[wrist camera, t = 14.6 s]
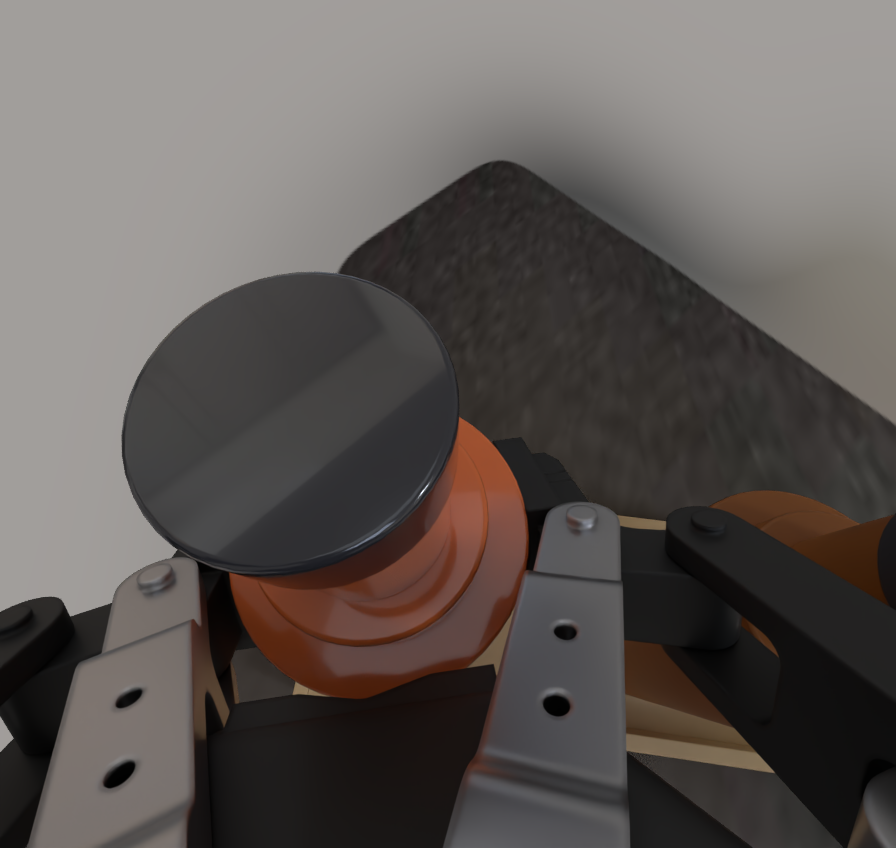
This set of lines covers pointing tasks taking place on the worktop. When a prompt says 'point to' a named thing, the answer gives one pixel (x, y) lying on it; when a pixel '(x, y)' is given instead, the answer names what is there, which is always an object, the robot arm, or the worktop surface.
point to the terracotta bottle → (329, 481)
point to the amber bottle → (806, 531)
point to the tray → (654, 713)
